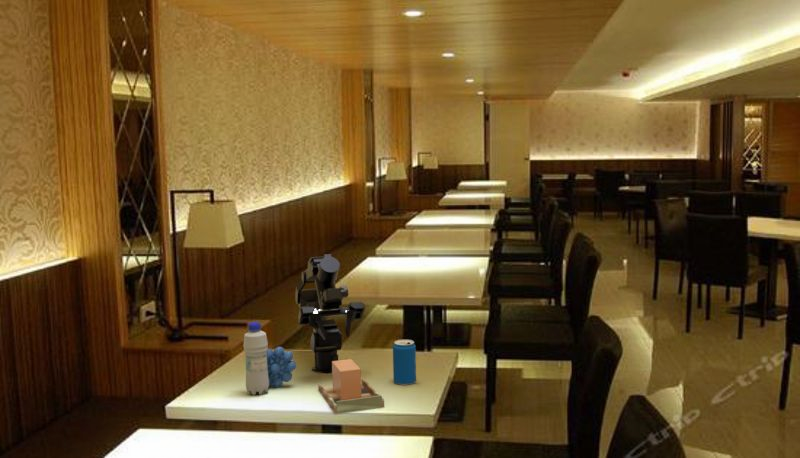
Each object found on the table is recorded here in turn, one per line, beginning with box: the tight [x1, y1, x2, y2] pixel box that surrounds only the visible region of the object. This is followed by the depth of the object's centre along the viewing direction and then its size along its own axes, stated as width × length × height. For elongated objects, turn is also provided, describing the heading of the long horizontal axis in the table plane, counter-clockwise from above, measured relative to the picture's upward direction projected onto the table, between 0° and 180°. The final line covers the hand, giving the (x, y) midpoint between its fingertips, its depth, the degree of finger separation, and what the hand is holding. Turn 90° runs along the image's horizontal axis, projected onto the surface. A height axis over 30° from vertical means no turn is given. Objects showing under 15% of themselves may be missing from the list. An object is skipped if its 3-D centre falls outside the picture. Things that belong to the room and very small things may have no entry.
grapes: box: [267, 346, 297, 389], centre depth 214 cm, size 12×7×12 cm, turn 88°
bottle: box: [243, 321, 270, 396], centre depth 209 cm, size 7×7×20 cm
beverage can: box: [392, 339, 417, 386], centre depth 214 cm, size 6×6×12 cm
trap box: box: [317, 377, 385, 415], centre depth 202 cm, size 20×13×4 cm, turn 18°
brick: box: [331, 358, 362, 401], centre depth 205 cm, size 10×6×8 cm, turn 18°
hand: (336, 338), depth 214 cm, fingers open, 6 cm apart
